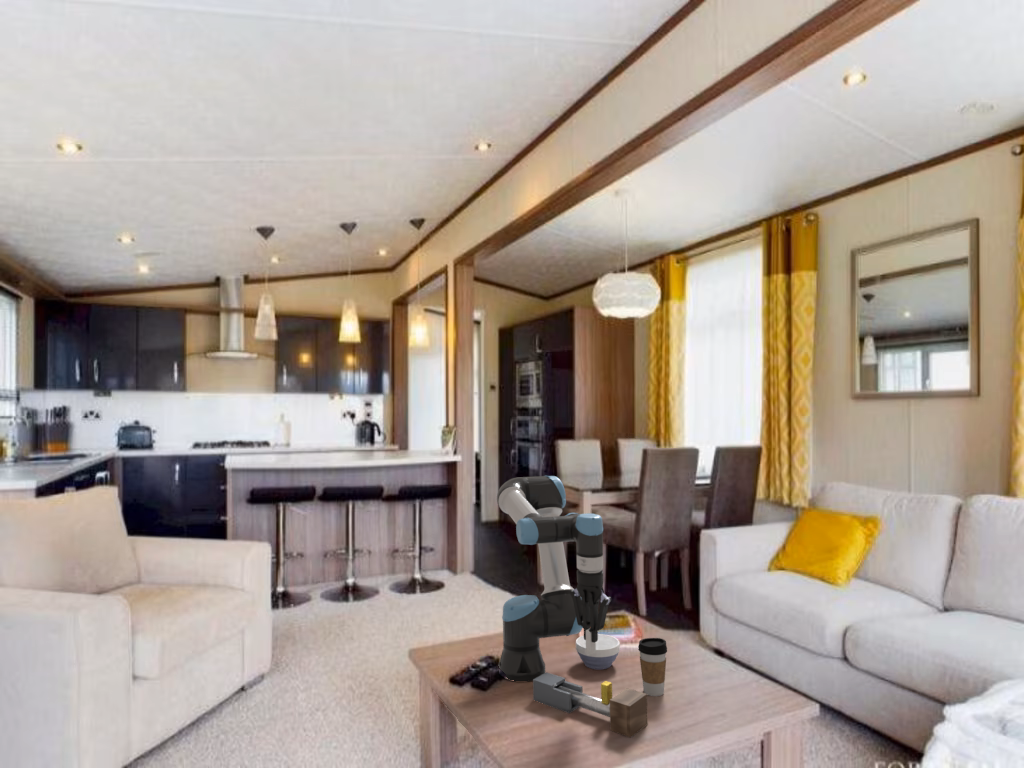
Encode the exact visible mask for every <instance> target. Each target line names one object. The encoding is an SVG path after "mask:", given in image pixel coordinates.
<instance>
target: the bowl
mask: <svg viewBox="0 0 1024 768" xmlns="http://www.w3.org/2000/svg"><path fill="white" fill-rule="evenodd" d="M620 649H621V644H620V640H619V639H618V638H617V637H615V636H612V635H608V634H602V633H598V640H597V642H596V652H594V653H592V654H587V653H586V640H584V634H583V635H581V636H579V637H577V638H576V640H575V650H576V652H577V654H578V656H579V658H580V660H581V661H582V662H583V664H584V666H585V667H587V668H589V669H592V670H595V671H596V670H601V671H602V670H606V669H608V668H611V666H612V665H613V663H614V662H615V661H616V659H617V656H618V655H619V653H620V651H621V650H620Z"/></svg>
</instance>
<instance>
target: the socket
mask: <svg viewBox="0 0 1024 768" xmlns="http://www.w3.org/2000/svg"><path fill="white" fill-rule="evenodd" d="M609 719H610V720H609V722H610V725H609V727H610V732H614V733H617V734H619V735H622V736H625V737H627V738H632V737H634V736H635V735H636V734H637V733H639V731H641V730H642V729H644V728H645V727H646V726H648V695H647V694H645V693H644V692H642V691H638V690H634V689H632V688H629V687H627V688H625V689H624V690H622V691H621V692H619V693H617V694H616V695H615V696H612V699H610V717H609Z"/></svg>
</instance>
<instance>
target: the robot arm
mask: <svg viewBox="0 0 1024 768" xmlns="http://www.w3.org/2000/svg"><path fill="white" fill-rule="evenodd" d="M566 494H567V493H566V490H565V487H564V484H563V482H562V481H561V479H560V478H559V477H558V476H555V475H541V476H540V475H539V476H523V477H517V476H516V477H512V478H510V479H508V480H507V481H505V482H504V483H503V484H501V486H500V487H499V489H498V491H497V494H496V502H497V506H498V507H499V508H500V510H501V511H502V512H503V513H504V514H507V515H509V517H510V518H511V519H512V520H513V522H514V523H515V525H516V526H515V528H516V529H515V530H516V531H515V532H516V533H515V534H516V537H517V540H518V543H519V544H520V545H530V546H533V545H538V552H539V557H540V559H539V560H540V566H541V567H540V568H541V574H542V579H543V586H544V587H543V588H544V590H543V591H542V593H541V594H540V599H539V598H538V597H537V595H533V594H532V595H531V594H529V595H528V594H522V595H517V596H514V597H511V598H509V599H508V600H507V601H505V602H504V604H503V607H502V616H501V618H502V636H503V637H502V639H503V640H502V641H503V642H502V644H503V647H502V648H503V649H502V652H501V655H500V659H499V662H498V666H499V668H500V669H501V670H502V671H503V672H504V673H505V674H506V677H507V678H508V679H510V680H514V681H513V682H516V681H527V682H533V679H535V678H537V677H539V676H541V675H543V674H544V673H546V663H545V661H544V657H543V655H542V651H541V647H540V640H541V639H545V638H554V637H564V636H566V637H568V636H572V635H577V634H579V633H581V632H582V630H583V635H584V640H586V653H587V654H592V653H594V652H596V642H597V640H598V634H599V631H600V630H603V629H604V628H605V623H606V619H607V613H608V609H609V605H610V603H611V601H612V597H611V596H607V595H606V594H605V590H604V587H603V586H604V570H603V569H604V523H603V518H602V516H601V515H600V514H597V513H577V512H569V513H567V514H566V515H562V513H563V509H564V508H565V507H566V504H567V499H566V498H567V495H566ZM566 542H567V543H568V542H569V543H570V542H575V544H576V569H577V570H576V583H577V585H576V587H575V588H573V586H571V583H570V577H569V572H568V564H567V559H566V558H567V557H566V552H565V546H564V543H566ZM498 666H497V667H498ZM510 680H509V681H510Z"/></svg>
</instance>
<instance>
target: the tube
mask: <svg viewBox="0 0 1024 768" xmlns="http://www.w3.org/2000/svg"><path fill="white" fill-rule="evenodd" d="M557 689H560V690H563V691H566V692H569V693H571V704H573V705H576V706H579V707H578V708H582V709H585V710H588V711H590V712H594V713H597V714H599V715H602V716H606V717H609V718H610V699H612V698H613V683H612V682H611V681H607V680H604V681H603V682H601V683H600V695H601V696H600V698H599V697H596V696H593V695H590V694H587V693H581V692H578V691H575V690H572V689H569V688H566V687H562V686H559V687H558V688H557Z"/></svg>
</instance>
